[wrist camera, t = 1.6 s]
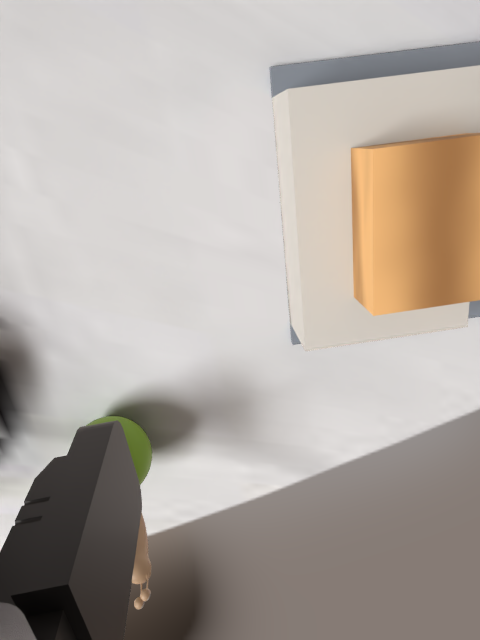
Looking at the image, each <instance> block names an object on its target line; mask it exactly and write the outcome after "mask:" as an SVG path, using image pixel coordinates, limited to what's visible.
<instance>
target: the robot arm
mask: <svg viewBox="0 0 480 640" xmlns="http://www.w3.org/2000/svg"><path fill="white" fill-rule="evenodd" d="M24 503H25V505H24V506H22V507H21V509H20V511H19V514H18V516H17V518H16V520H15V526H12V528H11V530H10V533H9V535H8V537H7V539H6V541H5V543H4V545H3V547H2V549H1V552H0V640H124V633H125V626H126V619H127V612H128V605H129V597H130V591H131V590H130V589H131V583H132V576H133V569H134V562H135V555H136V547H137V540H138V533H139V526H140V519H141V510H142V499H141V489H140V484H139V479H138V476H137V473H136V469H135V466H134V463H133V460H132V456H131V453H130V450H129V446H128V443H127V440H126V436H125V433H124V430H123V427H122V425H121V423H120V422H119V421H118V420H116V421H110V422H105V423H99V424H94V425H89V426H83V427H80V428H79V429H78V430H77V432H76V435H75V437H74V440H73V442H72V445H71V447H70V450H69V452H68V454H67V456H62V457H57V458H54V459H53V460H52V461H51V462H50V463H49V464H48V465H47V466H46V468H45V469H44V470H43V471H42V472H41V473H40V474H39V475H38V476H37V477H36V478H35V480H34V482H33V484H32V486H31V488H30V490H29V492H28V494H27V497H26V499H25V501H24Z"/></svg>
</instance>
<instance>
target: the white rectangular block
mask: <svg viewBox="0 0 480 640" xmlns="http://www.w3.org/2000/svg"><path fill="white" fill-rule="evenodd" d="M272 104H273V116H274V129H275V141H276V154H277V166H278V178H279V191H280V203H281V216H282V228H283V241H284V253H285V266H286V278H287V291H288V303H290V304H289V305H290V306H289V315H291V320H290V324H291V326H292V327H293V329H294V331H295V333H296V335H297V337H298V338H299V340H300V342H301V344H302V346H303V348H304V350H305V351H312V350H318V349H325V348H331V347H338V346H345V345H351V344H358V343H364V342H371V341H378V340H384V339H391V338H397V337H404V336H411V335H417V334H424V333H430V332H437V331H444V330H450V329H457V328H463V327H467V326H468V314H469V303H470V302H464V303H458V304H451V305H444V306H437V307H431V308H424V309H417V310H410V311H404V312H397V313H390V314H384V315H377V316H373V315H372V314H371V313H370V312H369V311H368V310H367V309H366V308H365V307H364V306H363V305H362V304H360V303H359V302H358V301H357V300H356V299H355V298H354V285H353V235H352V185H351V148H356V147H364V146H371V145H379V144H387V143H394V142H402V141H410V140H417V139H425V138H433V137H440V136H448V135H456V134H464V133H480V65H478V66H470V67H462V68H454V69H445V70H437V71H429V72H421V73H413V74H405V75H397V76H388V77H380V78H372V79H364V80H356V81H348V82H339V83H331V84H323V85H315V86H307V87H299V88H291V89H287V90H285V91H283V92H281V93H279V94H278V95H276V96H274V97H272Z"/></svg>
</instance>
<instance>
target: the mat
mask: <svg viewBox="0 0 480 640" xmlns="http://www.w3.org/2000/svg"><path fill="white" fill-rule="evenodd" d="M478 65H480V42H472V43H463V44H455V45H447V46H438V47H430V48H422V49H413V50H405V51H397V52H388V53H380V54H372V55H363V56H355V57H347V58H338V59H330V60H322V61H313V62H305V63H297V64H288V65H280V66H272V67H270V79H271V91H272V97H274V96H276V95H278V94H279V93H281V92H283V91H285V90H287V89H291V88H299V87H307V86H315V85H323V84H331V83H339V82H348V81H356V80H364V79H372V78H380V77H388V76H397V75H405V74H413V73H421V72H429V71H437V70H445V69H454V68H462V67H470V66H478ZM289 304H290V303H289ZM289 306H290V305H289ZM475 317H480V300H478V301H471V302H470V303H469V314H468V318H475ZM290 320H291V315H290ZM290 328H291V340H292V344H293V345H295V344H301V342H300V340H299V338H298V337H297V335H296V333H295V331H294V329H293V327H292V326H291V324H290Z"/></svg>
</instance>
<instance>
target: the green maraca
mask: <svg viewBox="0 0 480 640" xmlns="http://www.w3.org/2000/svg"><path fill="white" fill-rule="evenodd" d="M116 420H118V421H119V422H120V423H121V425H122V427H123V430H124V433H125V436H126V440H127V443H128V446H129V450H130V453H131V456H132V460H133V463H134V466H135V469H136V473H137V476H138V479H139V484H141V483H142V482H143V481H144V479H145V478H146V476H147V474H148V471H149V469H150V465H151V460H152V449H151V444H150V441H149V439H148V437H147V435H146V433H145V432H144V430H143V429H142V428H141V427H140V426H139V425H138V424H136V423H135V422H133V421H132V420H130V419H127V418H124V417H119V416H108V417H103V418H99V419H97V420H94V421H92V422H91V423H89V424H88V425H86V426H89V425H94V424H99V423H105V422H110V421H116ZM71 445H72V444H71ZM150 575H151V563H150V560H149V557H148V540H147V533H146V527H145V523H144V519H143V516H142V513H141V519H140V526H139V533H138V540H137V547H136V555H135V562H134V569H133V576H132V583H134V584H140V585H141V595H140V597H138V598H137V599H136V600H135V602H134V606H135V608H136V609H141V608H142V607H143V606H144V603H145V601H147V600H148V599H149V598H150V595H151V592H150V590H149V589H148V579H149V577H150ZM146 581H147V587H146V589H144V590H142V583H144V582H146Z"/></svg>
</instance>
